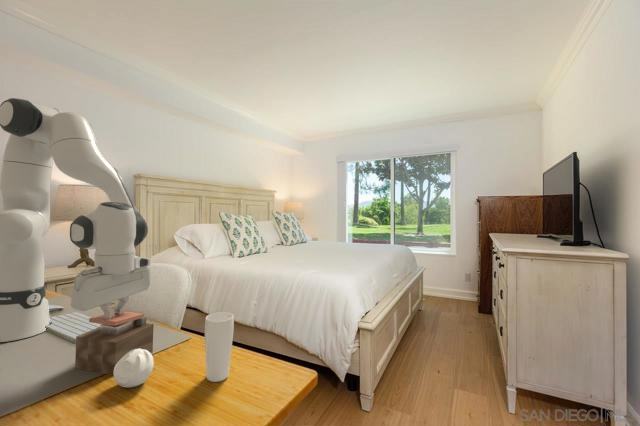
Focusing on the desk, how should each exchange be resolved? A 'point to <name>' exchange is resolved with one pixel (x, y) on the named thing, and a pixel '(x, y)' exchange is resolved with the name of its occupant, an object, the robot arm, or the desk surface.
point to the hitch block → (111, 346)
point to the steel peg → (116, 328)
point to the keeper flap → (117, 318)
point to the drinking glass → (218, 345)
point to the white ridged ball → (133, 368)
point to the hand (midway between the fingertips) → (114, 316)
